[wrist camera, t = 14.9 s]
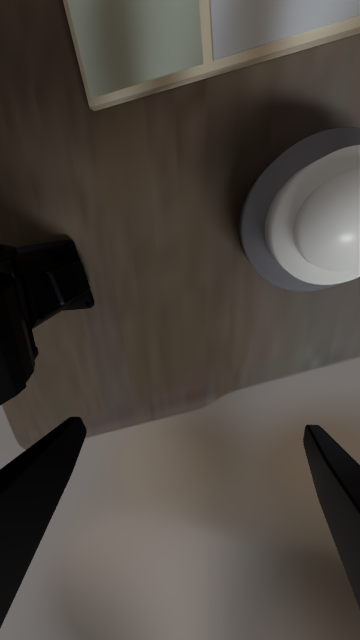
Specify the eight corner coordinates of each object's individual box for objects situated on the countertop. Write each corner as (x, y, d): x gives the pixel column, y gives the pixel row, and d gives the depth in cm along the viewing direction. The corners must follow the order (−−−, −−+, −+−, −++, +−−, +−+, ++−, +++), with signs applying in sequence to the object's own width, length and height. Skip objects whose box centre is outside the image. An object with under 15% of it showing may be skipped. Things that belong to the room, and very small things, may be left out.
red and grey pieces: (240, 284, 19) (245, 301, 15) (236, 160, 15) (242, 144, 11) (440, 266, 16) (503, 280, 12) (499, 104, 12) (615, 60, 8)
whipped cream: (263, 279, 15) (275, 295, 12) (265, 170, 12) (281, 156, 9) (369, 268, 14) (411, 284, 11) (397, 144, 11) (465, 118, 8)
